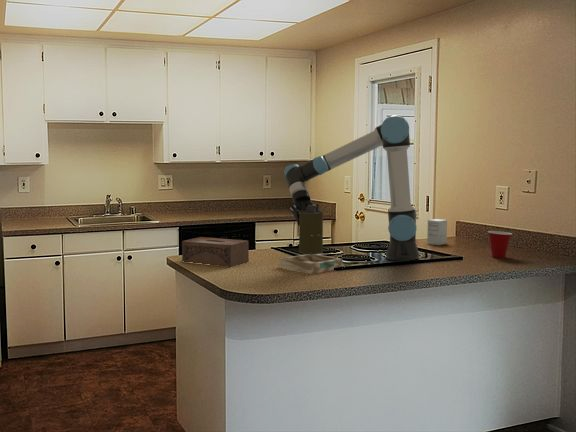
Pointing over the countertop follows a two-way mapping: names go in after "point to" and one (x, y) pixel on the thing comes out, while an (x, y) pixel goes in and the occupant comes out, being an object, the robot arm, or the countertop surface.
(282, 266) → the square tray
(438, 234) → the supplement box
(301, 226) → the canister
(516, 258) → the countertop surface
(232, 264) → the tissue box cover
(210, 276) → the countertop surface
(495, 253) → the plastic cup
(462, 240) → the countertop surface
